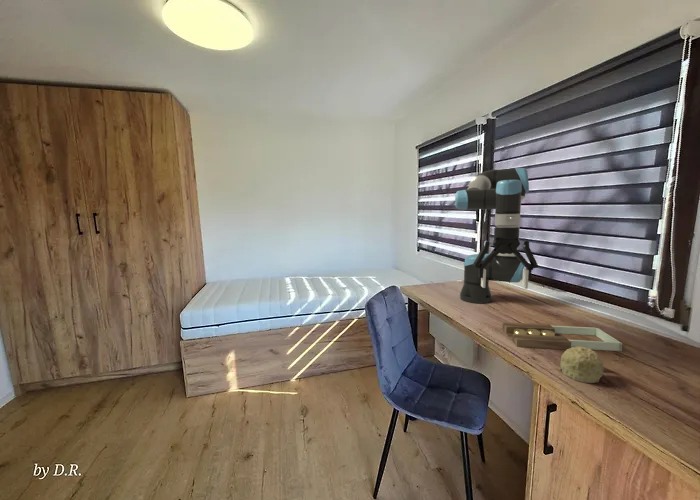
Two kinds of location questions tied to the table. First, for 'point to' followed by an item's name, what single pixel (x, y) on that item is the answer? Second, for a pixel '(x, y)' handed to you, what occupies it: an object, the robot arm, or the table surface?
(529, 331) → the chip
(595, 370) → the decorative object
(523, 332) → the chip
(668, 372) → the table surface
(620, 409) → the table surface
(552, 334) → the chip
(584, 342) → the tray
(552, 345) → the slot board
